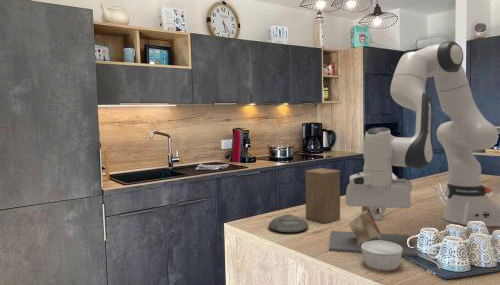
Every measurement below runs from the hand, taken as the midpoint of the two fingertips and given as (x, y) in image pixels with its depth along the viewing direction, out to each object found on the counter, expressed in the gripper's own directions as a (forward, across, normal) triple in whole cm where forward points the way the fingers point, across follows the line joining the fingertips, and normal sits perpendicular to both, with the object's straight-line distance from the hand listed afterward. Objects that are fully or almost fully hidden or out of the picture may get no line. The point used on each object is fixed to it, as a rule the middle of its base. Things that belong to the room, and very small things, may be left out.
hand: (377, 220), depth 124 cm
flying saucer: (+8, +31, -12) cm, 34 cm away
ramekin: (+8, 0, +17) cm, 19 cm away
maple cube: (0, +1, 0) cm, 1 cm away
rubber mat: (+8, +2, 0) cm, 8 cm away
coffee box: (+8, 0, -35) cm, 36 cm away
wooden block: (+8, +19, -27) cm, 34 cm away
